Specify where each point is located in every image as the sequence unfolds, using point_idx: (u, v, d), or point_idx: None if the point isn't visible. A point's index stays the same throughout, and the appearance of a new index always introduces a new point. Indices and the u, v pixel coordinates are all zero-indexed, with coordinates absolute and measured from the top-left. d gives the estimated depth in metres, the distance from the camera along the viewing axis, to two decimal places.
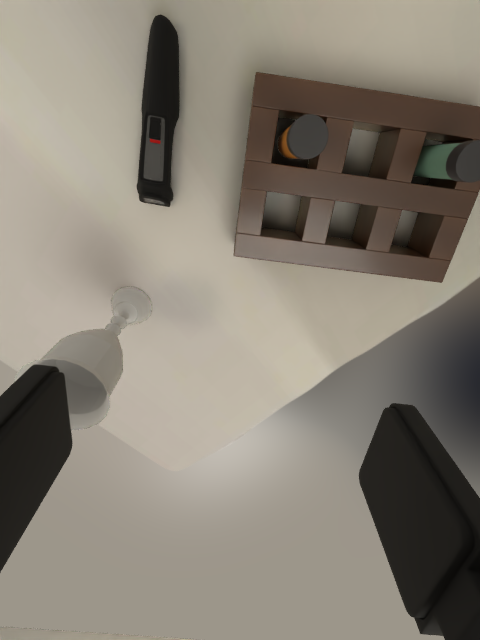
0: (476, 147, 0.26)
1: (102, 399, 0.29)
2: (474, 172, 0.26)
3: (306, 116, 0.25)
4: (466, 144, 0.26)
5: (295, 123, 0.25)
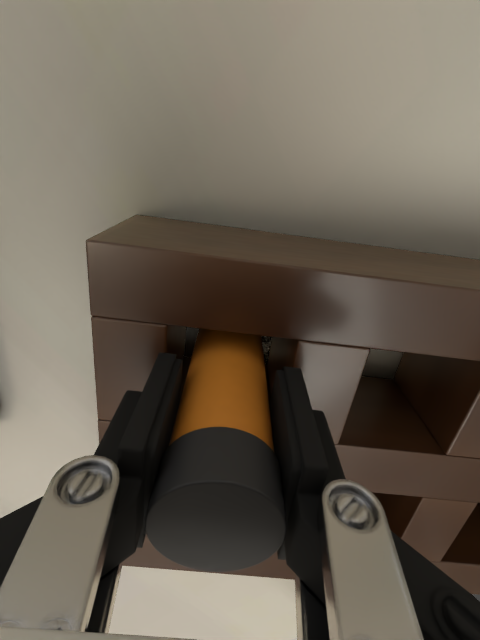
0: None
1: None
2: None
3: (199, 487, 0.06)
4: None
5: (162, 502, 0.07)
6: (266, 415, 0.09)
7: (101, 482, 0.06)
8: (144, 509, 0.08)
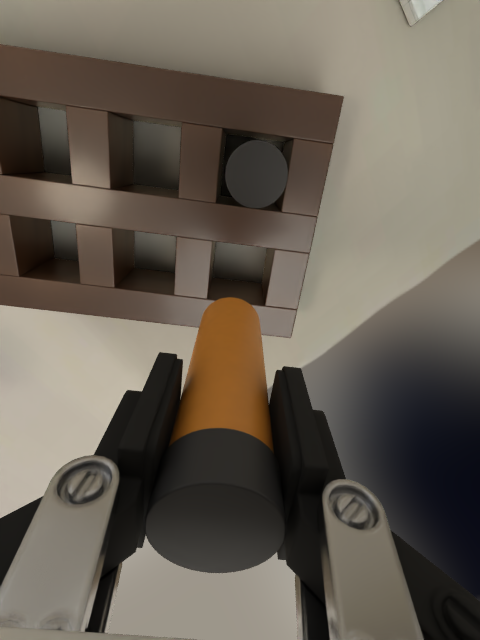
0: (251, 152, 0.16)
1: None
2: (258, 192, 0.16)
3: (199, 489, 0.06)
4: None
5: (161, 503, 0.07)
6: (266, 416, 0.09)
7: (101, 482, 0.06)
8: (144, 509, 0.08)
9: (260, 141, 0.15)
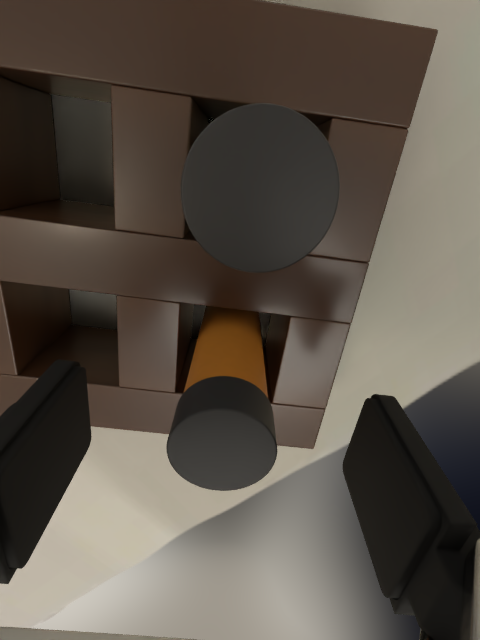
0: (246, 137, 0.06)
1: None
2: (264, 237, 0.07)
3: (210, 414, 0.09)
4: None
5: (180, 427, 0.09)
6: (262, 373, 0.11)
7: None
8: (2, 542, 0.07)
9: (270, 106, 0.06)
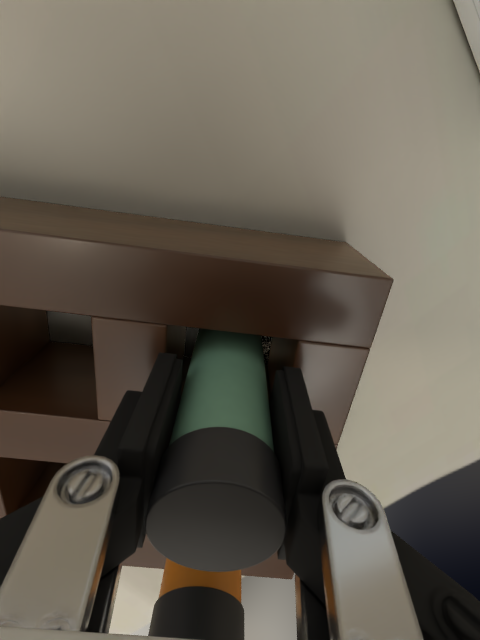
0: (200, 500, 0.07)
1: None
2: (221, 553, 0.07)
3: None
4: (170, 479, 0.07)
5: None
6: None
7: (101, 482, 0.06)
8: (144, 509, 0.08)
9: (221, 483, 0.06)
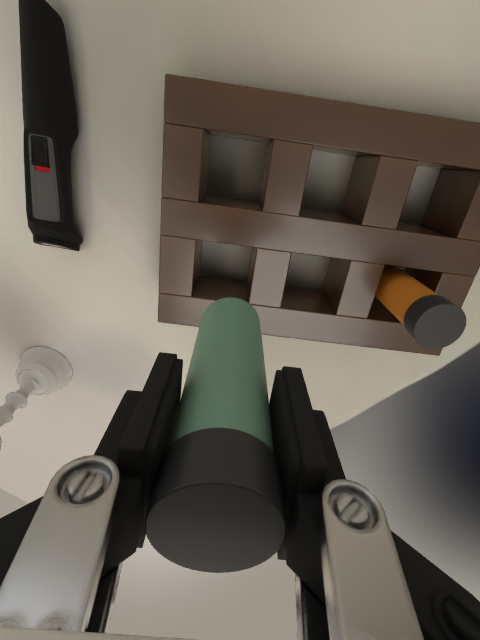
0: (201, 501, 0.07)
1: None
2: (221, 554, 0.07)
3: (441, 306, 0.19)
4: (170, 480, 0.07)
5: (426, 313, 0.20)
6: None
7: (101, 482, 0.06)
8: (144, 509, 0.08)
9: (221, 484, 0.06)
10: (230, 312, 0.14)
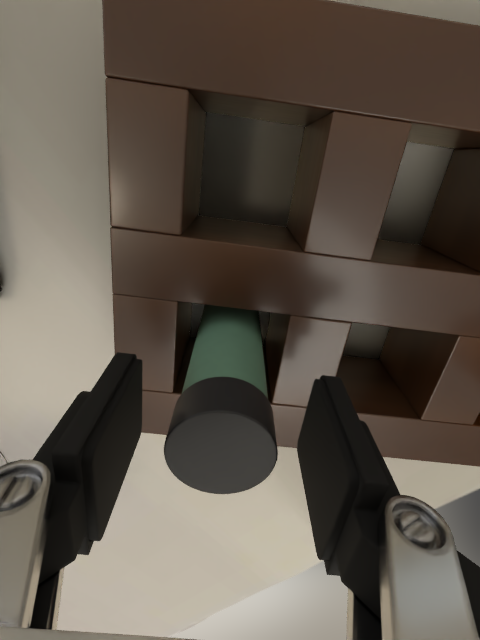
0: (209, 427, 0.08)
1: None
2: (225, 476, 0.09)
3: None
4: (184, 412, 0.09)
5: None
6: None
7: (29, 488, 0.06)
8: (87, 515, 0.07)
9: (225, 413, 0.08)
10: None
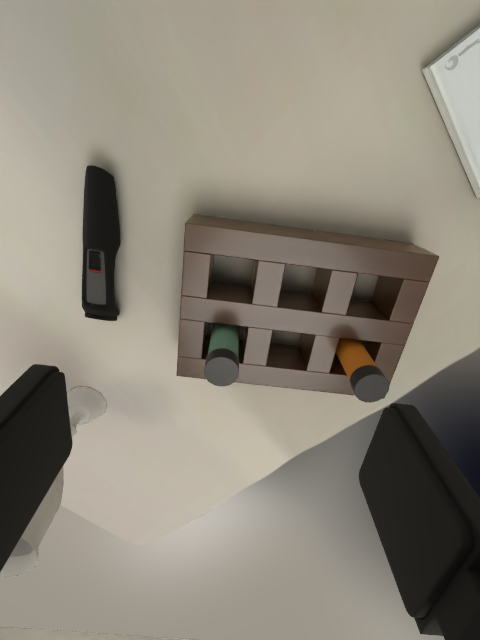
0: (218, 362, 0.28)
1: None
2: (222, 379, 0.29)
3: (371, 376, 0.29)
4: (210, 358, 0.28)
5: (361, 380, 0.29)
6: (375, 364, 0.31)
7: None
8: None
9: (222, 357, 0.28)
10: None
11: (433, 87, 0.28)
